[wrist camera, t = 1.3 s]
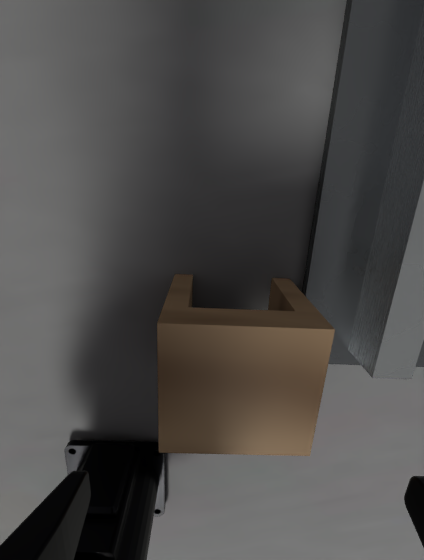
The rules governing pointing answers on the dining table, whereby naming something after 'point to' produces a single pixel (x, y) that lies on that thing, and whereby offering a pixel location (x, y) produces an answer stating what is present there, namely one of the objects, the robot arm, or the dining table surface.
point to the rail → (373, 194)
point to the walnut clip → (240, 373)
